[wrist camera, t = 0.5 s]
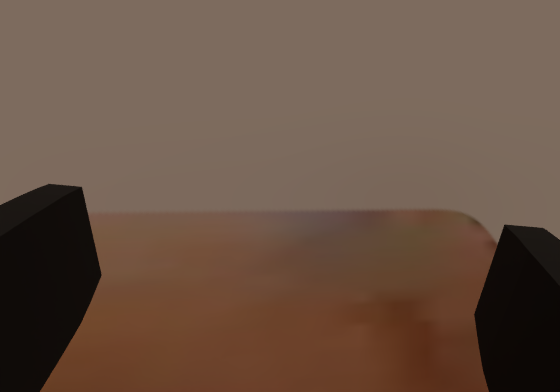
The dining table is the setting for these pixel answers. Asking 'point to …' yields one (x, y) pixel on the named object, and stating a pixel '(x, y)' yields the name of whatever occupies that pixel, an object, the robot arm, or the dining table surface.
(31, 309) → the robot arm
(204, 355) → the dining table surface
